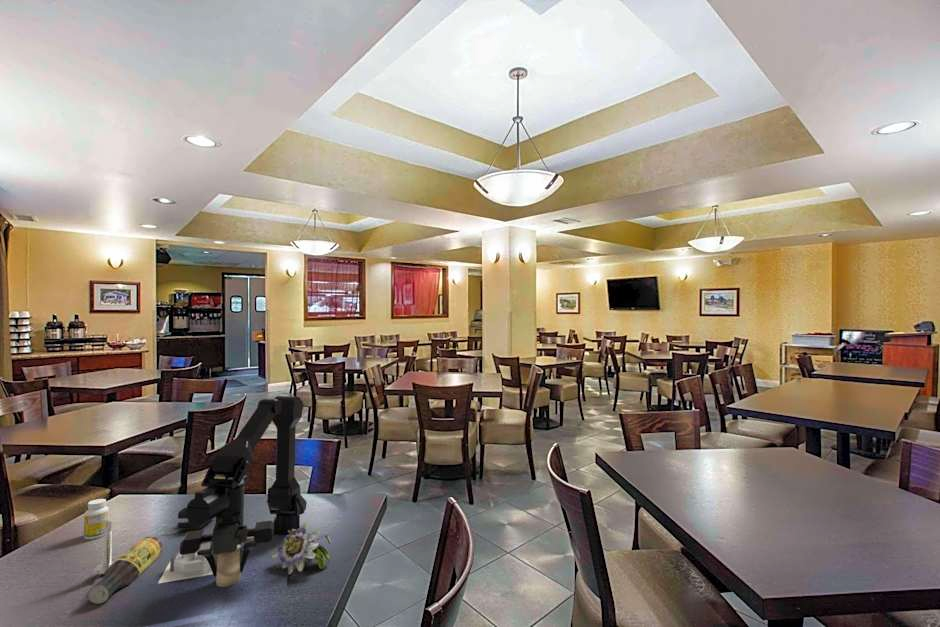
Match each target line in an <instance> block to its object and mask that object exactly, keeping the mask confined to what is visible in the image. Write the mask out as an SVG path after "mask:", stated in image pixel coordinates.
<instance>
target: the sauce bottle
mask: <svg viewBox="0 0 940 627" xmlns="http://www.w3.org/2000/svg"><path fill="white" fill-rule="evenodd" d="M163 547H164V546H163V542H162V541H161V539H160V538H158V537H157V536H145V537H144V538H142V539H140V540H139V541H137V542H136V543H135V544H134V545H132V547H130V548H129V549H127V551H125V553H123V554H122V555H121V556H120V557H118V558H117V559H116V560H114V561H115V562H114V563H113V564H112V565H111V566H110V567H109V568H108V569H107V570H106V571H105V574H103V575H104V576H103V578H102V579H101V580H100V581H99V582H97V583H95V585H93V586H92V587H91V588H90V590H89V591H88V594H87V595H88V599H89V601H90V602H91V603H93V604H95V605H100V604H103V603H105V602H106V601H108V599H110V598H111V597H112V595H113V594H114V593H115V592H116V591H117V590H121V589H123V588H124V587H127V586H128V585H130V584H131V583H133V581H134V580H136V579H137V578H138V577H139V576H140V575H141V574H142V573H143V572H144V571H145V570H146V569H148V568H149V567H150V565H151V564H152V563H153V562H155V561H156V560H157V558H158V557H159V556H160V554H162V552H163Z"/></svg>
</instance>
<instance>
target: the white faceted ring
mask: <svg viewBox="0 0 940 627" xmlns="http://www.w3.org/2000/svg"><path fill="white" fill-rule="evenodd" d="M197 552H198V551H197ZM197 552H196V553H192V554H185V555H181V554H180V551H179V552H178V553H177V554H174V555H171V557H170V559H169V560H170V561H169V563H170V572H172V571H174V574H177V575H180V576H182V577H189V576H195V575H201V574H205V573H206V572H208V571H210V570H211V568H210V565H209V563H208V561H207V559H206V558H205V557H204V556H202V555H197ZM200 558H204V559H201V560H194V559H200ZM192 560H194V561H192Z"/></svg>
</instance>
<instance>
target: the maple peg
mask: <svg viewBox="0 0 940 627" xmlns="http://www.w3.org/2000/svg"><path fill="white" fill-rule="evenodd" d="M242 549H243V546H242V545H241V544H240V545H237V549H236V550H235V551H234V552H230V553H229V552H225V553H220V554H217V574H216V577H215V578H216V579H215V584H216V586H217V587H221V588H224V587H225V588H227V587H230V586H234V585H235V584H237V583H238V582H239V581H240V580H241V578H242V577H241V576H242V572H240V566H241V560H242Z"/></svg>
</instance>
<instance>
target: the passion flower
mask: <svg viewBox="0 0 940 627" xmlns="http://www.w3.org/2000/svg"><path fill="white" fill-rule="evenodd" d="M291 531H292V532H290V531H289V530H288V533H289V535H285V537H283V539H282V540H281V542H283V543H282V544H281V545H280V546H278V549H277V550H276V551H275V552H274V553H272V555H271V557H272V558H273V559H279V560H280V561H281V563H282V565H281V569H287V574H286V575H287V576H290V575H292V574H293V573H294V572H295V568H296V570H297V571H298V572H300V573H301V572H302V571H303V570H304V569H305V565H306V560H307V559H308V560H313V559H315V562H316V564H317V566H318V568H319V569H320V570H321V569H322V570H324V569H325V566H326V564H325V563H326V562H325V558H326V560H327V562H328V563H330V555H329V554H330V553H329V551H328V549H327V548H325V546H322V545H321V544H320V543H318V542H317V541H319V540H321V539H323V538H324V537H325V539H326V540H327V542H328V545H330V544H331V539H330V537H329V535H328V534H326V535H323V536H321V537H319V535H320V531H317V530H316V531H314V532H311V533H308V523H306V522H305V523H303V524H302V526H300V529H299V528H298V529H297V530H296V529H292V530H291ZM318 537H319V538H318ZM315 539H316V540H315Z"/></svg>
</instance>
